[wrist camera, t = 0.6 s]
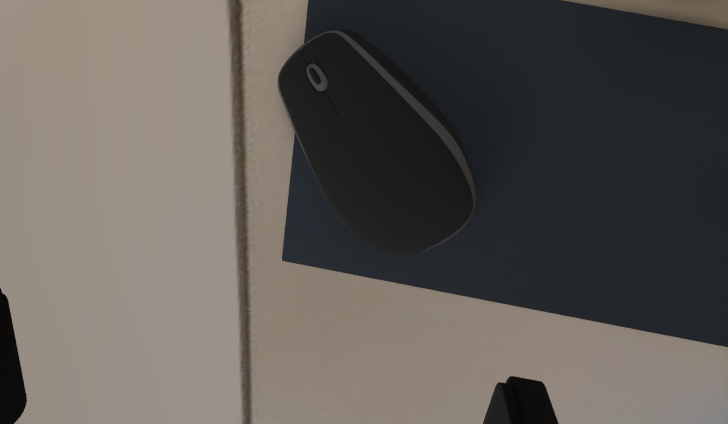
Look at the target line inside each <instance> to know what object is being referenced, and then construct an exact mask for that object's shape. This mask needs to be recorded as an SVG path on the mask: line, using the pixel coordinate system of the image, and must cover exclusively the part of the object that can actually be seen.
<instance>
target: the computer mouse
mask: <svg viewBox="0 0 728 424" xmlns="http://www.w3.org/2000/svg"><path fill="white" fill-rule="evenodd" d="M278 89H279V93H280V96H281V99H282V101H283V104H284V106H285V109H286V111H287V114H288V116H289V119H290V121H291V124H292V126H293V129H294V131H295V133H296V136H297V138H298V140H299V143H300V145H301V147H302V149H303V151H304V154H305V156H306V158H307V160H308V162H309V165H310V167H311V169H312V171H313V173H314V175H315V177H316V179H317V182H318V184H319V186H320V188H321V190H322V191H323V193H324V195H325V197H326V199H327V201H328V202H329V204H330V206H331V207H332V209H333V210H334V212H335V213H336V215H337V216H338V218H339V219H340V220H341V221H342V222H343V223H344V224H345V226H346V227H347V228H348V229H349V230H351V231H352V232H353V233H354V234H355V235H356V236H357V237H359V238H360V239H361V240H362V241H364V242H366V243H367V244H369V245H370V246H372V247H374V248H376V249H378V250H380V251H382V252H384V253H388V254H391V255H398V256H404V255H411V254H414V253H418V252H421V251H425V250H428V249H431V248H433V247H435V246H438V245H440V244H442V243H443V242H445V241H447V240H449V239H450V238H452V237H453V236H455V235H456V234H457V233H458V232H460V231H461V230H462V229H463V228H464V227H465V226H466V224H467V223H468V222H469V220H470V219H471V217H472V215H473V213H474V210H475V206H476V191H475V185H474V180H473V176H472V172H471V168H470V165H469V162H468V159H467V156H466V153H465V151H464V148H463V146H462V144H461V142H460V140H459V137H458V136H457V134H456V132H455V131H454V129H453V127H452V126H451V124H450V123H449V121H448V120H447V119H446V117H445V116H444V115H443V113H442V112H441V111H440V110H439V108H438V107H437V106H436V105H435V104H434V102H433V101H432V100H431V99H430V98H429V97H428V96H427V95H426V94H425V93H424V92H423V91H422V89H421V88H420V87H419V86H418V85H417V84H416V83H415V82H414V81H413V80H412V79H411V78H410V77H409V76H408V75H407V74H406V73H405V72H404V71H403V70H402V69H401V68H400V67H399V66H398V65H397V64H396V63H395V62H393V61H392V60H391V59H390V58H389V57H388V56H387V55H385V54H384V53H383V52H381V51H380V50H379V49H378V48H376V47H375V46H374V45H372V44H371V43H370V42H368V41H367V40H366V39H365V38H363V37H362V36H361V35H359V34H358V33H356V32H353V31H350V30H344V29H336V30H329V31H326V32H323V33H321V34H319V35H317V36H315V37H313V38H312V39H310V40H309V41H307V42H306V43H305V44H303V45H302V46H301V47H300V48H299V49H298V50H297V51H296V52H294V53H293V54H292V55H291V57H290V58H289V59H288V60H287V61H286V63H285V64H284V66H283V67H282V69H281V71H280V73H279V77H278Z"/></svg>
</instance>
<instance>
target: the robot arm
mask: <svg viewBox="0 0 728 424" xmlns="http://www.w3.org/2000/svg"><path fill="white" fill-rule="evenodd" d="M26 402H27V400H26V393H25V387H24V381H23V377H22V371H21V366H20V361H19V355H18V350H17V345H16V339H15V334H14V329H13V324H12V319H11V313H10V308H9V303H8V299H7V297H6V296H5V295H4V294H2V291H1V288H0V424H14V423H15V422H16V421H17V420H18V418H19V417H20V416H21V414H22V412H23V411H24V409H25V406H26ZM483 424H558V421H557V418H556V416H555V413H554V410H553V407H552V404H551V401H550V398H549V396H548V393H547V390H546V387H545V385H544V384H543V383H542V382H541V381H536V380H530V379H525V378H519V377H513V376H510V377H509V378H508V379H507V382H506V383H501V382H499V383H498V384H497V385H496V387H495V390H494V393H493V396H492V399H491V402H490V405H489V408H488V410H487V413H486V416H485V419H484V422H483Z"/></svg>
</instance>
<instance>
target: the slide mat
mask: <svg viewBox="0 0 728 424" xmlns="http://www.w3.org/2000/svg"><path fill="white" fill-rule="evenodd" d="M336 29H344V30H350V31H353V32H356V33H358V34H359V35H361V36H362V37H363V38H365V39H366V40H367V41H368V42H370V43H371V44H372V45H374V46H375V47H376V48H378V49H379V50H380V51H381V52H383V53H384V54H385V55H387V56H388V57H389V58H390V59H391V60H392V61H393V62H395V63H396V64H397V65H398V66H399V67H400V68H401V69H402V70H403V71H404V72H405V73H406V74H407V75H408V76H409V77H410V78H411V79H412V80H413V81H414V82H415V83H416V84H417V85H418V86H419V87H420V88H421V89H422V91H423V92H424V93H425V94H426V95H427V96H428V97H429V98H430V99H431V100H432V101H433V102H434V104H435V105H436V106H437V107H438V108H439V110H440V111H441V112H442V113H443V115H444V116H445V117H446V119H447V120H448V121H449V123H450V124H451V126H452V127H453V129H454V131H455V132H456V134H457V136H458V137H459V140H460V142H461V144H462V146H463V148H464V151H465V153H466V156H467V159H468V162H469V165H470V168H471V172H472V176H473V180H474V185H475V191H476V206H475V210H474V213H473V215H472V217H471V219H470V220H469V222H468V223H467V224H466V226H465V227H464V228H463V229H462V230H461V231H460V232H458V233H457V234H456V235H455V236H453V237H452V238H450V239H449V240H447V241H445V242H443V243H442V244H440V245H438V246H435V247H433V248H431V249H428V250H425V251H421V252H418V253H414V254H411V255H404V256H398V255H391V254H388V253H384V252H382V251H380V250H378V249H376V248H374V247H372V246H370V245H369V244H367V243H366V242H364V241H362V240H361V239H360V238H359V237H357V236H356V235H355V234H354V233H353V232H352V231H351V230H349V229H348V228H347V227H346V226H345V224H344V223H343V222H342V221H341V220H340V219H339V218H338V216H337V215H336V213H335V212H334V210H333V209H332V207H331V206H330V204H329V202H328V201H327V199H326V197H325V195H324V193H323V191H322V190H321V188H320V186H319V184H318V182H317V179H316V177H315V175H314V173H313V171H312V169H311V167H310V165H309V162H308V160H307V158H306V156H305V154H304V151H303V149H302V147H301V145H300V143H299V140H298V138H297V136H296V133H295V138H294V148H293V158H292V167H291V177H290V187H289V197H288V206H287V216H286V226H285V236H284V246H283V255H282V261H287V262H292V263H297V264H302V265H307V266H313V267H318V268H323V269H328V270H333V271H338V272H343V273H349V274H354V275H359V276H364V277H369V278H374V279H380V280H385V281H390V282H395V283H400V284H405V285H411V286H416V287H421V288H426V289H431V290H436V291H441V292H447V293H452V294H457V295H462V296H467V297H472V298H478V299H483V300H488V301H493V302H498V303H503V304H509V305H514V306H519V307H524V308H529V309H534V310H539V311H545V312H550V313H555V314H560V315H565V316H570V317H576V318H581V319H586V320H591V321H596V322H601V323H607V324H612V325H617V326H622V327H627V328H632V329H638V330H643V331H648V332H653V333H658V334H663V335H668V336H674V337H679V338H684V339H689V340H694V341H699V342H705V343H710V344H715V345H720V346H725V347H728V30H726V29H721V28H715V27H709V26H704V25H698V24H692V23H687V22H681V21H675V20H670V19H664V18H658V17H653V16H647V15H641V14H636V13H630V12H624V11H619V10H613V9H607V8H602V7H596V6H590V5H585V4H579V3H573V2H568V1H562V0H309V1H308V11H307V21H306V31H305V40H304V44H305V43H306V42H307V41H309V40H310V39H312V38H313V37H315V36H317V35H319V34H321V33H323V32H326V31H329V30H336Z"/></svg>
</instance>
